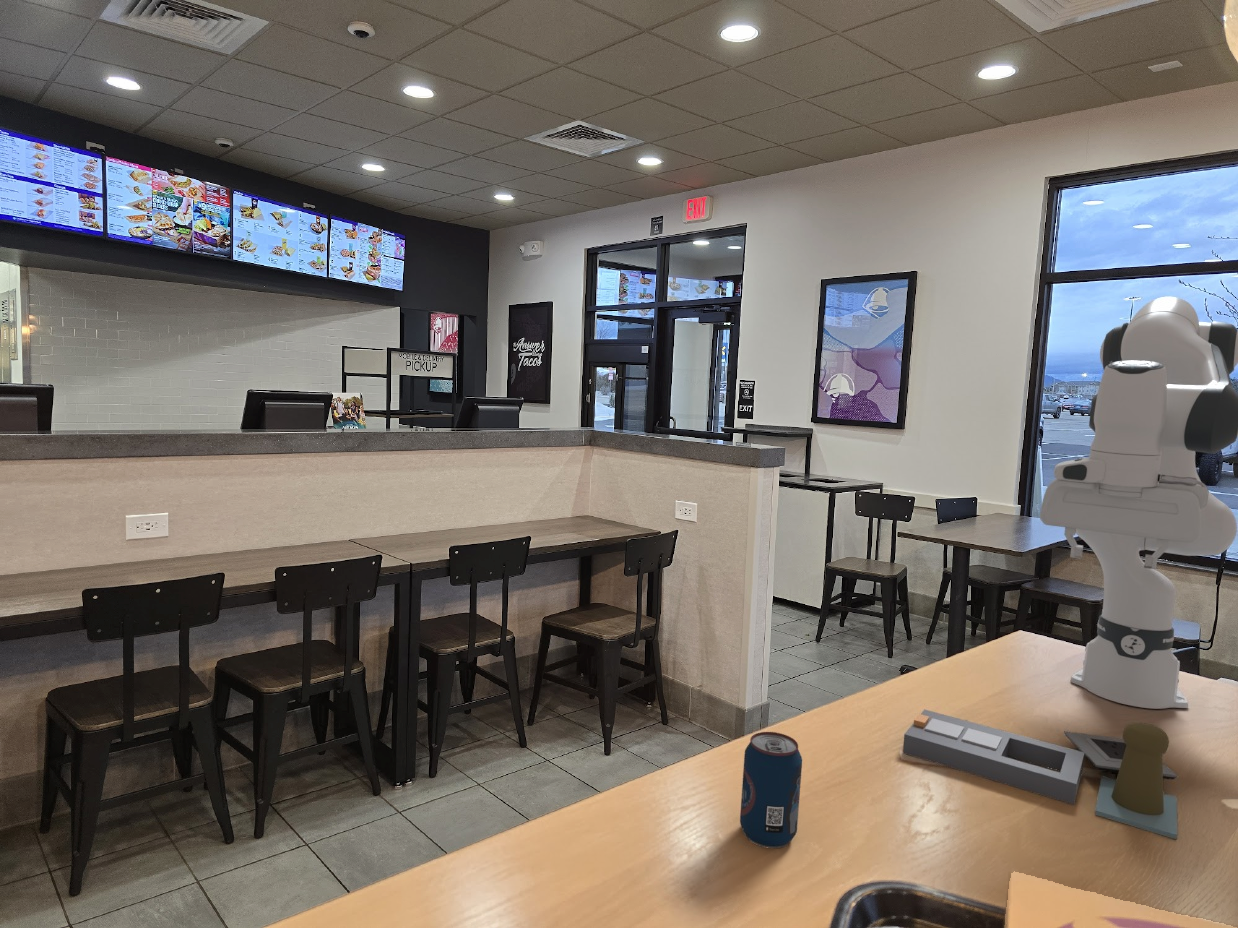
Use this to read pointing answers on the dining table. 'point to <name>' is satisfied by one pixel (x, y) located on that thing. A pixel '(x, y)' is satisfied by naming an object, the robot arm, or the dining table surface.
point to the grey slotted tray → (996, 755)
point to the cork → (1142, 769)
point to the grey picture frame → (1106, 752)
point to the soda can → (771, 789)
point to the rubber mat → (1153, 823)
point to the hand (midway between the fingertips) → (1112, 562)
